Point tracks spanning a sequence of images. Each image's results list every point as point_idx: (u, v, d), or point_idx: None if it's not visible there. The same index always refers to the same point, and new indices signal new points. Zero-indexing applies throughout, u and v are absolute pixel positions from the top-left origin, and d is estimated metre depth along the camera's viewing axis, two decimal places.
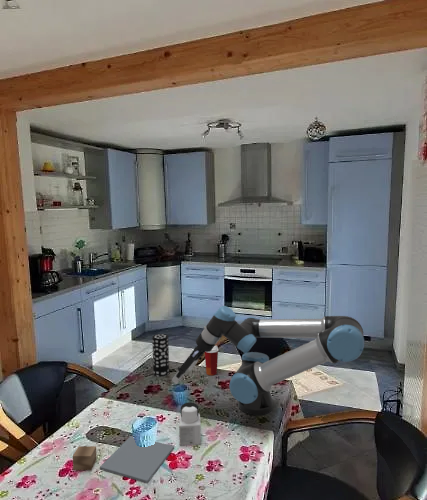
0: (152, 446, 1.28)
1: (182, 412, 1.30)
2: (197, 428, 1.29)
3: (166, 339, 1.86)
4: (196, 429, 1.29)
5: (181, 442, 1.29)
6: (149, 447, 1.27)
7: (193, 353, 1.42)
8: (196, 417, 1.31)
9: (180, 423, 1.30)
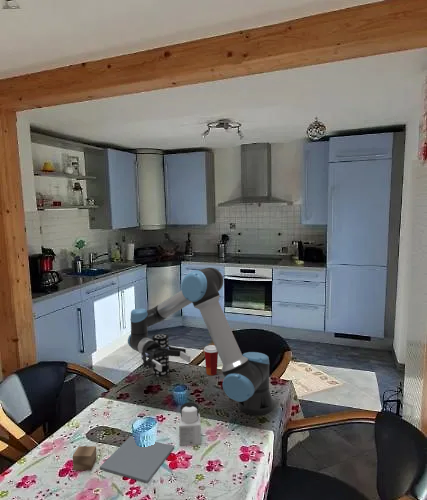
0: (152, 446, 1.28)
1: (182, 412, 1.30)
2: (197, 428, 1.29)
3: (166, 339, 1.86)
4: (196, 429, 1.29)
5: (181, 442, 1.29)
6: (149, 447, 1.27)
7: None
8: (196, 417, 1.31)
9: (180, 423, 1.30)
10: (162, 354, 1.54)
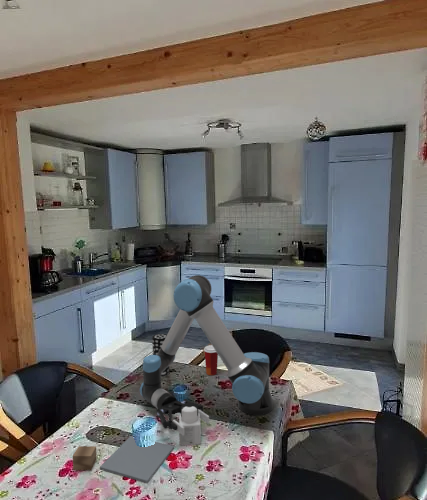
0: (152, 446, 1.28)
1: (182, 412, 1.30)
2: (197, 428, 1.29)
3: None
4: (196, 429, 1.29)
5: (181, 442, 1.29)
6: (149, 447, 1.27)
7: (157, 414, 1.38)
8: (196, 417, 1.31)
9: (180, 423, 1.30)
10: (179, 410, 1.40)
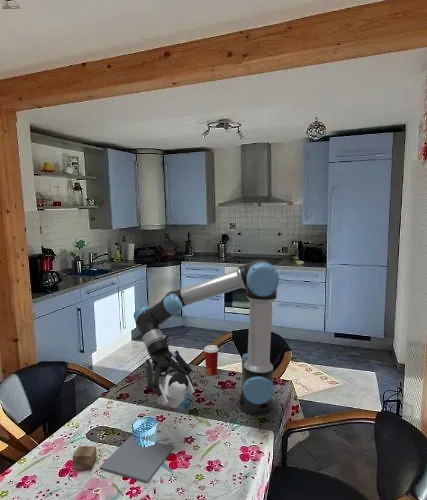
0: (152, 446, 1.28)
1: (171, 385, 1.24)
2: (179, 401, 1.27)
3: (166, 339, 1.86)
4: (178, 401, 1.27)
5: (159, 402, 1.28)
6: (149, 447, 1.27)
7: (145, 363, 1.30)
8: (182, 392, 1.26)
9: (165, 391, 1.25)
10: (167, 365, 1.33)
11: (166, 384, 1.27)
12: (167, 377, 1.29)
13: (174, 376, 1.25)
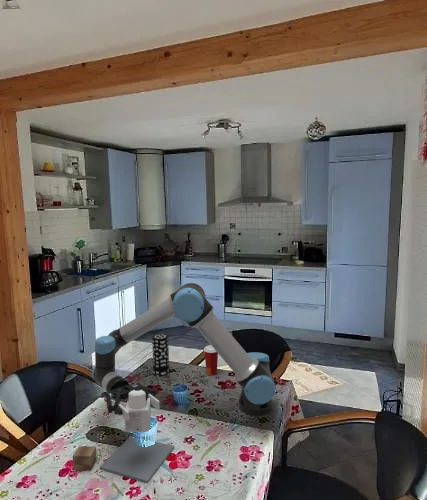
0: (152, 446, 1.28)
1: (129, 396, 1.19)
2: (145, 414, 1.18)
3: (166, 339, 1.86)
4: (143, 415, 1.18)
5: (127, 429, 1.18)
6: (149, 447, 1.27)
7: (104, 399, 1.26)
8: (144, 402, 1.19)
9: (126, 408, 1.18)
10: None
11: (127, 404, 1.21)
12: None
13: (131, 388, 1.21)
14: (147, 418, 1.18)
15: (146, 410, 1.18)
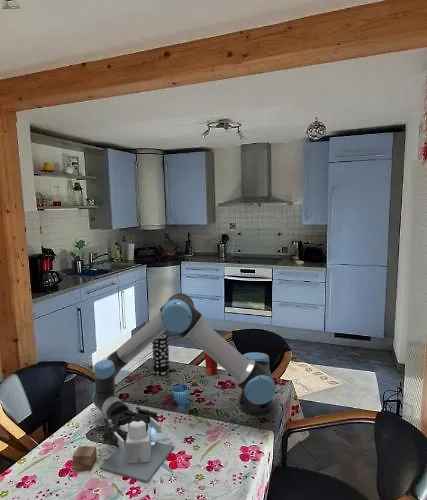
0: (152, 446, 1.28)
1: (129, 427, 1.20)
2: (145, 445, 1.19)
3: (166, 339, 1.86)
4: (144, 446, 1.19)
5: (128, 460, 1.19)
6: None
7: (104, 425, 1.28)
8: (145, 432, 1.20)
9: (127, 439, 1.19)
10: (129, 420, 1.29)
11: (128, 434, 1.22)
12: (129, 430, 1.25)
13: (131, 419, 1.23)
14: (148, 449, 1.19)
15: (147, 441, 1.19)
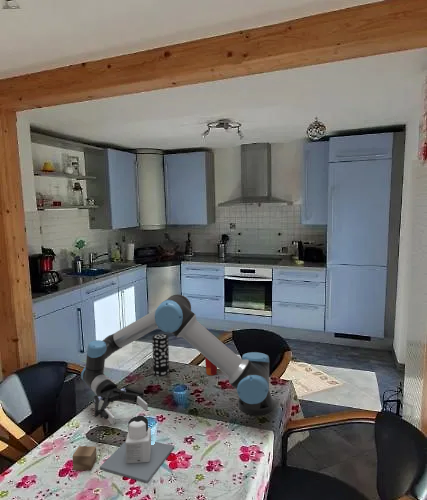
0: (152, 446, 1.28)
1: (129, 427, 1.20)
2: (145, 445, 1.19)
3: (166, 339, 1.86)
4: (144, 446, 1.19)
5: (128, 460, 1.19)
6: None
7: (94, 401, 1.38)
8: (145, 432, 1.20)
9: (127, 439, 1.19)
10: (117, 398, 1.41)
11: (128, 434, 1.22)
12: (129, 430, 1.25)
13: (131, 419, 1.23)
14: (148, 449, 1.19)
15: (147, 441, 1.19)
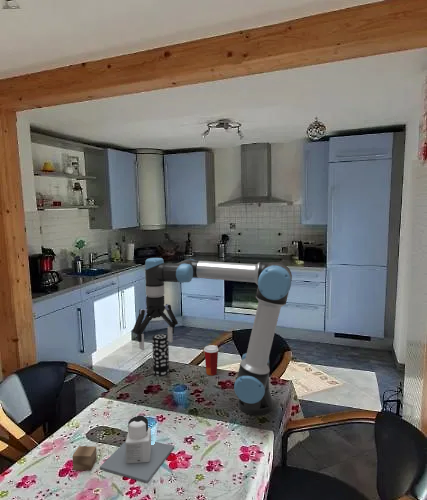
0: (152, 446, 1.28)
1: (129, 427, 1.20)
2: (145, 445, 1.19)
3: (166, 339, 1.86)
4: (144, 446, 1.19)
5: (128, 460, 1.19)
6: None
7: (140, 311, 1.45)
8: (145, 432, 1.20)
9: (127, 439, 1.19)
10: None
11: (128, 434, 1.22)
12: (129, 430, 1.25)
13: (131, 419, 1.23)
14: (148, 449, 1.19)
15: (147, 441, 1.19)
